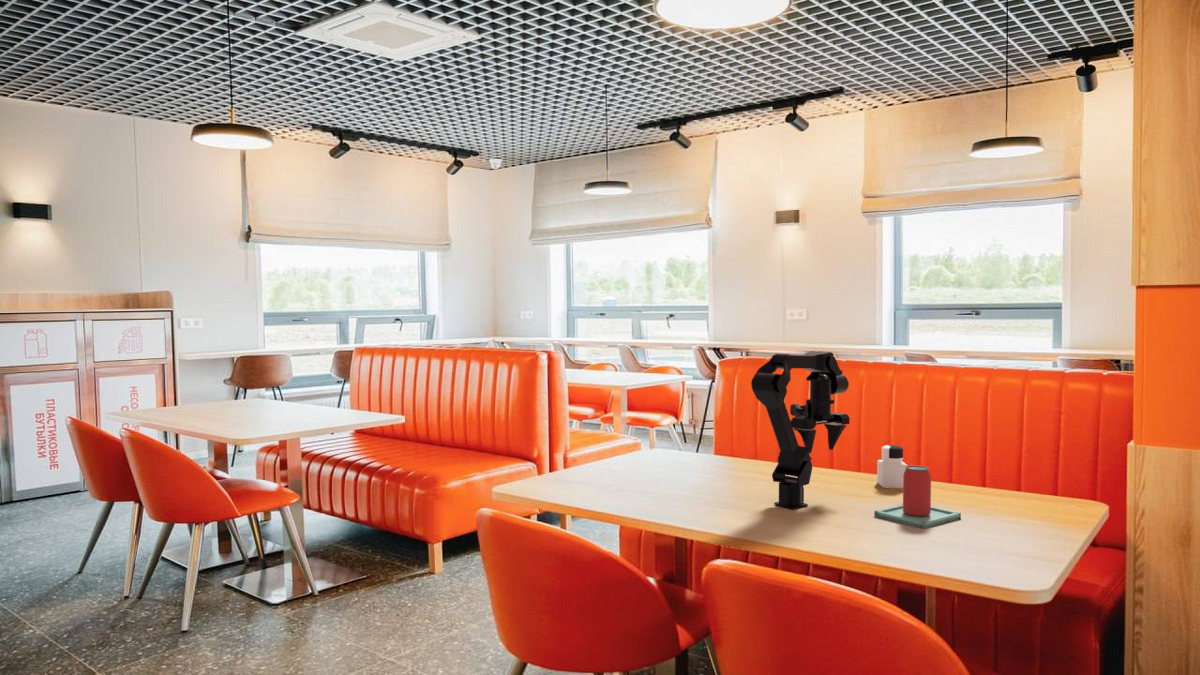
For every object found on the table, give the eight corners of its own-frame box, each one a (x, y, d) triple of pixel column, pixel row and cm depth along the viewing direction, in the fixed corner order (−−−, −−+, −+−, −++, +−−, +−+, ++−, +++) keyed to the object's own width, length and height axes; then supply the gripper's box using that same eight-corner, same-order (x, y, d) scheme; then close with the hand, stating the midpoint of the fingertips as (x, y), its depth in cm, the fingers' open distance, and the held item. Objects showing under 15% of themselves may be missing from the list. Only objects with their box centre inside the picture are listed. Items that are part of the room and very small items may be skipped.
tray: (923, 528, 198) (923, 522, 198) (874, 516, 210) (874, 510, 210) (960, 518, 207) (960, 513, 207) (911, 507, 219) (911, 502, 219)
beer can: (924, 519, 204) (925, 471, 204) (898, 514, 208) (899, 467, 208) (934, 513, 209) (935, 467, 208) (908, 509, 213) (909, 463, 213)
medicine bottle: (901, 483, 248) (901, 444, 247) (907, 488, 241) (908, 448, 240) (876, 482, 249) (877, 443, 248) (882, 488, 242) (883, 447, 241)
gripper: (820, 391, 241) (819, 443, 242) (775, 395, 231) (775, 450, 231) (851, 394, 232) (850, 449, 233) (806, 399, 222) (806, 456, 222)
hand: (820, 451), depth 230 cm, fingers open, 9 cm apart
